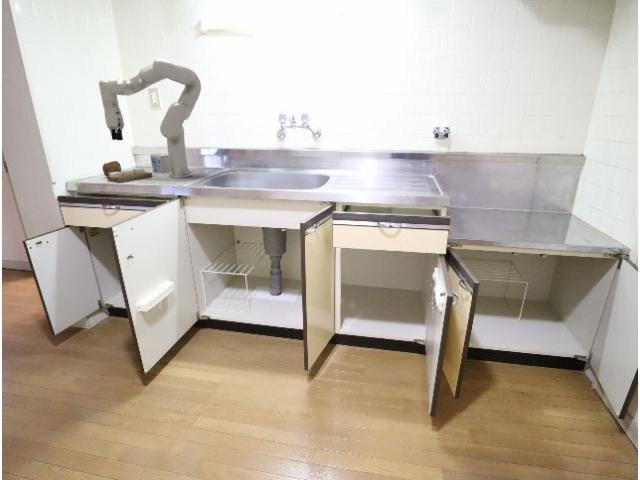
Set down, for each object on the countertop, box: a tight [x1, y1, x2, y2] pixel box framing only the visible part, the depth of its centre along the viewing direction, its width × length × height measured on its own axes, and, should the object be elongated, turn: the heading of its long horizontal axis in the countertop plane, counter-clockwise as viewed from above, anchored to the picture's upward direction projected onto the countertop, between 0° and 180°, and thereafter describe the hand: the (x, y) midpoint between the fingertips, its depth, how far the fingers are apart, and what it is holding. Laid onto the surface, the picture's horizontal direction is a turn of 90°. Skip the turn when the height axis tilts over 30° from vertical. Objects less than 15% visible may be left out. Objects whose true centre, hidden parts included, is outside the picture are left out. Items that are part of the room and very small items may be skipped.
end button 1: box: [109, 172, 122, 177], centre depth 199 cm, size 4×4×3 cm
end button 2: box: [132, 167, 146, 173], centre depth 210 cm, size 4×4×3 cm
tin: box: [102, 160, 122, 178], centre depth 213 cm, size 15×3×8 cm, turn 179°
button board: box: [106, 171, 153, 184], centre depth 204 cm, size 11×20×3 cm, turn 149°
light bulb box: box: [150, 153, 171, 174], centre depth 225 cm, size 11×7×11 cm, turn 56°
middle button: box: [121, 169, 134, 175], centre depth 205 cm, size 4×4×3 cm
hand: (117, 139), depth 202 cm, fingers open, 3 cm apart
